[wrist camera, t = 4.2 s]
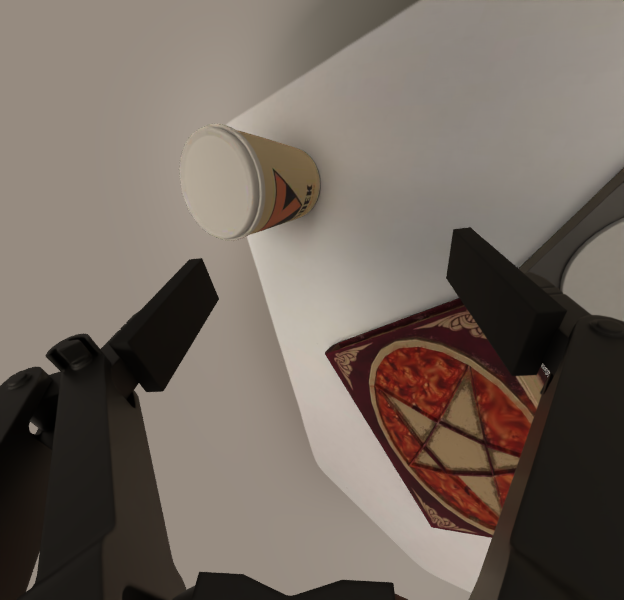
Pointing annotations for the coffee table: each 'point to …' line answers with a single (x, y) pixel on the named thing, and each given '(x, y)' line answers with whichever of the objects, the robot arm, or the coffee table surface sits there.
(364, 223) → the coffee table surface
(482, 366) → the book
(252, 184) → the coffee cup
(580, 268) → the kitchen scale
